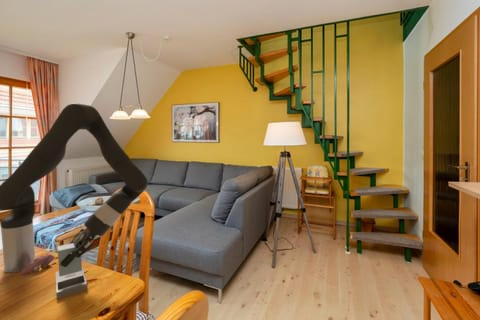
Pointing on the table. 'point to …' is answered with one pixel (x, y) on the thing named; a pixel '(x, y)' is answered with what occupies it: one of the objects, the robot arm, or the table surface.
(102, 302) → the table surface
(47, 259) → the pink curved toy
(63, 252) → the block
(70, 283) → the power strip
